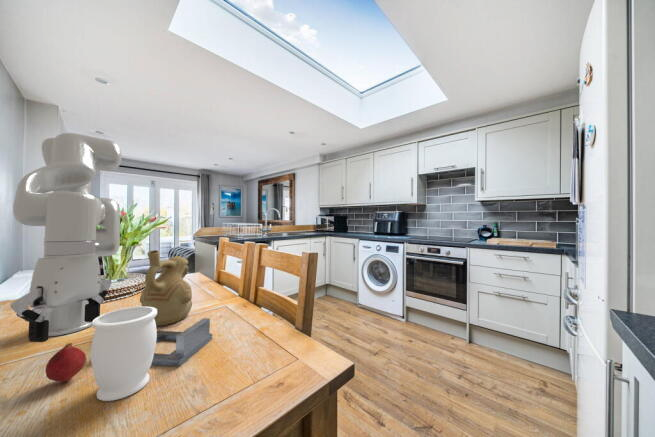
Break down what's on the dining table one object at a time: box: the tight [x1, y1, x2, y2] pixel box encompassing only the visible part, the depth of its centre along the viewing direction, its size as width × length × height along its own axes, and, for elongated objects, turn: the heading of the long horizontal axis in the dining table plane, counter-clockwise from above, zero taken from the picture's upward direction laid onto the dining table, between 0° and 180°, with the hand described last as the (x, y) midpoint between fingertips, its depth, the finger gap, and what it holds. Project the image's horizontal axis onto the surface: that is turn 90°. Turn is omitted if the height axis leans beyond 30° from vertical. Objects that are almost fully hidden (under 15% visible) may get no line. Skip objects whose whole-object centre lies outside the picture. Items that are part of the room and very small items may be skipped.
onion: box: [45, 342, 87, 383], centre depth 51 cm, size 6×6×8 cm
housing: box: [151, 317, 213, 368], centre depth 65 cm, size 22×14×6 cm, turn 85°
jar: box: [90, 305, 158, 402], centre depth 50 cm, size 11×10×15 cm
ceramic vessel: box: [139, 249, 193, 327], centre depth 85 cm, size 17×20×25 cm
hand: (67, 330), depth 51 cm, fingers open, 9 cm apart
